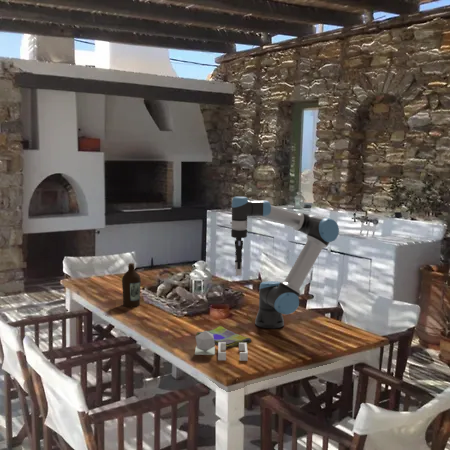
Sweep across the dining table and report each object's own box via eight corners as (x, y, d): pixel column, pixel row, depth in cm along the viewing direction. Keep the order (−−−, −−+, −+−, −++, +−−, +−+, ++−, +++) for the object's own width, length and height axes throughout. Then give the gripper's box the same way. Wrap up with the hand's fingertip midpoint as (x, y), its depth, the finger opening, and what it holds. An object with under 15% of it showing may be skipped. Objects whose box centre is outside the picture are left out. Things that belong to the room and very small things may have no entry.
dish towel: (222, 329, 292) (222, 324, 291) (253, 343, 273) (253, 337, 273) (194, 336, 281) (194, 330, 281) (225, 350, 262) (225, 345, 262)
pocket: (246, 350, 262) (246, 342, 261) (247, 360, 249) (247, 353, 249) (218, 349, 262) (218, 342, 261) (218, 360, 249) (218, 352, 248)
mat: (215, 348, 264) (215, 346, 264) (214, 355, 255) (214, 353, 255) (195, 347, 264) (195, 346, 264) (194, 354, 255) (194, 353, 255)
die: (216, 349, 260) (217, 328, 259) (211, 356, 252) (211, 334, 250) (199, 347, 262) (199, 326, 261) (193, 354, 254) (193, 332, 252)
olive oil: (118, 305, 329) (118, 263, 326) (133, 302, 337) (133, 261, 333) (129, 309, 322) (128, 266, 318) (144, 306, 329) (144, 264, 326)
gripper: (230, 225, 284) (230, 266, 287) (231, 232, 259) (230, 278, 262) (245, 225, 284) (244, 266, 287) (248, 233, 259) (247, 278, 262)
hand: (238, 272), depth 275 cm, fingers open, 13 cm apart
